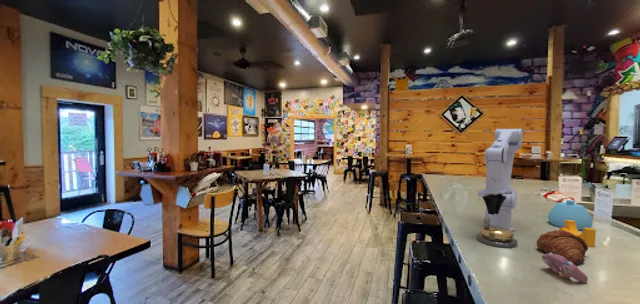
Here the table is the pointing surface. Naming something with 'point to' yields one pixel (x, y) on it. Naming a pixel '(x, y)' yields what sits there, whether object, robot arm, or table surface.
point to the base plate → (497, 244)
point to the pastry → (563, 245)
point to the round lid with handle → (496, 232)
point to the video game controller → (564, 267)
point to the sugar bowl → (570, 215)
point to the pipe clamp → (586, 235)
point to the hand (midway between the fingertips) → (493, 213)
